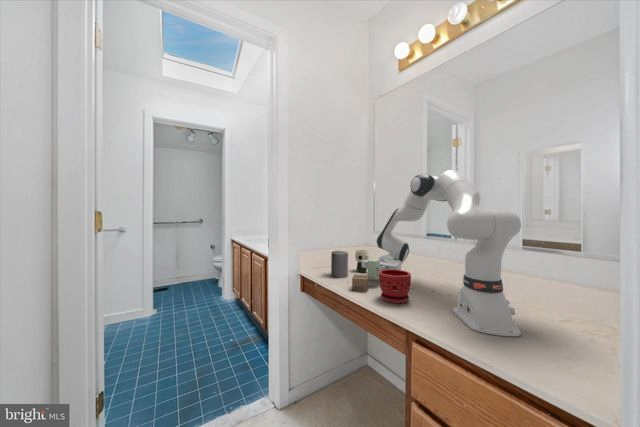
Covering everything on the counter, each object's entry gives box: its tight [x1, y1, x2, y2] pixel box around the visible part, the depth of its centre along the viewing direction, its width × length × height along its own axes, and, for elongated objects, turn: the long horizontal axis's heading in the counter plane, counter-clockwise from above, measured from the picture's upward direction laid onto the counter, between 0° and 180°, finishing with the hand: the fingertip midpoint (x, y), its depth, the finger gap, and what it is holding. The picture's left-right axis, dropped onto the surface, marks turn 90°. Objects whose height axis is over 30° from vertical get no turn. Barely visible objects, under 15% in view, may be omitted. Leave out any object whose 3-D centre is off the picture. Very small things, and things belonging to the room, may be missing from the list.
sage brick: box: [367, 258, 380, 281], centre depth 128 cm, size 4×4×9 cm
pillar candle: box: [330, 249, 349, 279], centre depth 145 cm, size 10×10×15 cm
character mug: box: [354, 249, 369, 273], centre depth 155 cm, size 11×7×13 cm, turn 35°
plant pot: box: [378, 270, 412, 304], centre depth 108 cm, size 13×13×12 cm
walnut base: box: [351, 274, 370, 293], centre depth 122 cm, size 7×7×6 cm
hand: (372, 268), depth 127 cm, fingers closed on sage brick, 4 cm apart
